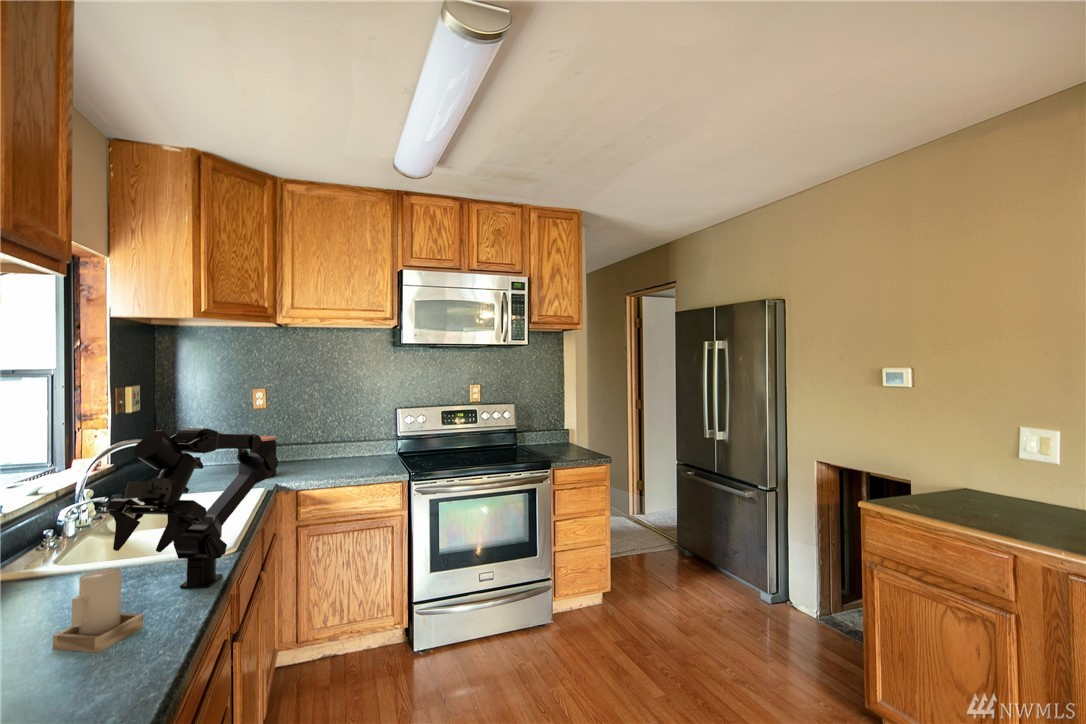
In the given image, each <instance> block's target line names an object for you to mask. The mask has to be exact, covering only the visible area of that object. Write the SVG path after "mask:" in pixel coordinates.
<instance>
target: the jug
mask: <svg viewBox="0 0 1086 724" xmlns="http://www.w3.org/2000/svg"><path fill="white" fill-rule="evenodd" d="M78 583H79V588H78V589H79V590H78V592H79V593H78V596H77V595H76V596H75V597H73V598H71V626H72V627H79V635H88V636H100V635H102V634H104V633H106V632H108V631H110V630H111V629H113V628H115V627H117V626H119V625H120V621H121V613H122V611H121V607H122V604H121V603H122V602H121V600H122V569H120V568H116V567H110V568H102V569H97V570H93V571H89V572H88V573H87V572H86V573H84V574H82V575H81V576H80V577H79V582H78Z"/></svg>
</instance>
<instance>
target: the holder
mask: <svg viewBox="0 0 1086 724" xmlns="http://www.w3.org/2000/svg"><path fill="white" fill-rule="evenodd" d="M143 628H144V614H143V613H129V612H121V621H120V625H119V626H117V627H115V628H113V629H111V630H110V631H108V632H106V633H104V634H102V635H100V636H88V635H79V627H72V625H71V626H70V627H68V628H65V629H63V630H61V631H59V632H57V633H55V634H54V635H52V650H57V651H70V652H71V651H72V652H84V653H96V654H99V653H101V652H103V651H104V650H106V649H108V648H110V647H112V646H113V645H114V644H117V643H118V642H119V641H122V640H123V639H125V638H126V637H128V636H131V635H132V634H134V633H135V632H137V631H138V630H141V629H143Z"/></svg>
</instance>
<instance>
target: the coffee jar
mask: <svg viewBox="0 0 1086 724" xmlns="http://www.w3.org/2000/svg"><path fill="white" fill-rule="evenodd" d="M259 436H260V438H261V440H262V442H264V443H265V444H266V445H267V446H268V447H270V448H271V449H272V450H273V452H274V454H275V456H276V457H277V441H276V440H277V436H275V435H263V436H262V435H259ZM249 453H255V452H254V451H253V449H249ZM276 474H277V469H276V470H275V471H274V473H272V474H271V475H270V476H269V477H268V478H267V479H271V478H270V477H272V478H275V476H276Z"/></svg>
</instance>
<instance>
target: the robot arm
mask: <svg viewBox="0 0 1086 724" xmlns="http://www.w3.org/2000/svg"><path fill="white" fill-rule="evenodd" d="M260 436H261V435H259V434H256V433H239V434H235V433H220V432H219V431H218V430H215V429H211V428H201V427H200V428H199V427H197V428H196V427H183V428H179V429H178V431H177V432H176V434H174V435H171V436H170V435H169V434H168V433H167V432H165V431H164V430H154V431H153V432H152V433H151V434H150V435H147V436H146V437H144V438H143V439H141V440H140V441H139V442H137V443H136V445H135V446H134V448H133V455H134V456H135V457H136V458H138V459H139V460H140V461H142V462H144V464H147V465H148V466H149V467H152V468H153V469H154V470H156V471H160V472H159V475H158V476H157V477H152V478H151V479H149V481H147V482H146V481H128V482H127V485H126V489H125V493H124V496H123V497H124V498H119V497H118V498H113V499H111V500H110V501H109V502H108V504H107V506H106V508H105V509H104V511H105V512H107V513H109V516H111V517H113V519H114V522H115V532H114V539H113V547H112V550H113V551H115V552H119V551H120V550H121V549H122V547H123V546H124V545H125V544H126V542H127V541H128V540H129V538H131V535H132V534H133V533H134V531H135V530H136V529H137V527H138V526H139V525H140V523H141V521H140V519H142V518H143V516H144V515H158V516H160V515H163V516H165V515H167V524H166V526H165V528H164V530H163V532H162V535H161V537H160V538H159V541H158V543H157V546H156V548H155V551H156V552H157V553H161V552H162V551H164V550H165V549H166V548H167V547H168V546H169V545H170V544H171V543H173V544H172V545H173V547H174V550H175V553H176V556H177V559H178V560H181V559H182V560H183V559H184V560H185V559H186V560H187V561H186V562H187V563H186V581H184V582H183V583H182V584H181V583H180V585H179V588H180V589H185V588H186V589H188V588H189V589H194V588H196V589H197V588H209V587H211V586H212V585H213V584H215V583H216V582H218V581H219V580H220V579H221V578H222V577H223V574H221V573H219V574H218V573H217V559H220V558H222V557H223V555H225V554H226V551H227V549H228V544H227V543H226V542H225V541H223V540H222V539H221V538H222V532H223V531H222V530H223V525H224V524H225V522H226V521H227V520H228V519H229V518H230V516H232V514H233V513H234V512H235V510H236V509H237V508H238V507H239V506H240V504H241V502H242V501H244V499H245V498H246V497H247V495H248V494H250V491H251V490H253V488H254V487H255V485H256V484H259V483H260V482H264V481H265V480H267V479H269V478H268V477H269V476H270V475H271V474H272V473H274V471H275V470H276V471H277V468H278V466H279V460H278V458H277V455H276V456H275V454H274V452H273V450H272V449H271V448H270V447H268V446H267V445H266V444H265V443H264V442H262V440H261V438H260ZM219 449H237V461H238V462H239V464H238V474H237V475H236V477H234V479H233V480H232V481H231V483H230V484H229V485H228V486H227V487H226V488H225V490H223V492H222V493H221V494H220V495H219V496H218V498H216V500H215V501H214V502H213V503H212V504H211V505H210V507H208V509H207V508H206V507H204V506H203V505H202V504H200V503H199V502H197V501H195V500H192V499H189V500H188V499H186V500H185V499H181V498H182V496H183V494H188V493H189V491H190V488H188V484H189V481H190V479H191V477H192V475H193V473H194V471H195V470H202V469H204V463H203V462H202V460H201V457H200V456H193V455H191V454H207V453H212V452H215V451H216V450H219ZM250 449H253V451H254V452H255V453H250V452H249V451H248V450H250ZM132 498H137V499H136V500H137V501H138V502H140V503H143V504H140V503H138V502H137V501H135V500H133V499H132Z"/></svg>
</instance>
